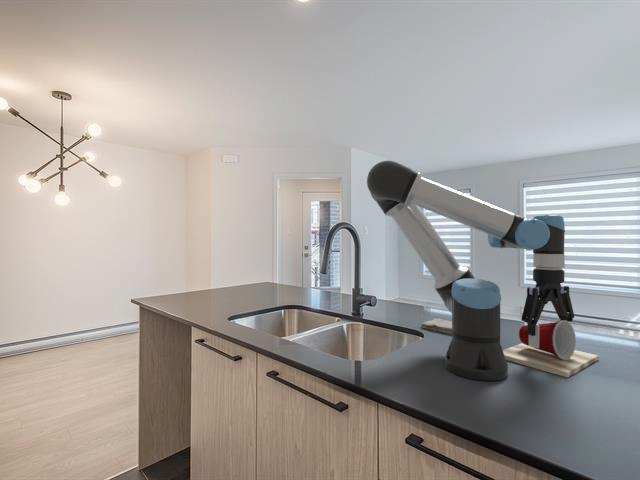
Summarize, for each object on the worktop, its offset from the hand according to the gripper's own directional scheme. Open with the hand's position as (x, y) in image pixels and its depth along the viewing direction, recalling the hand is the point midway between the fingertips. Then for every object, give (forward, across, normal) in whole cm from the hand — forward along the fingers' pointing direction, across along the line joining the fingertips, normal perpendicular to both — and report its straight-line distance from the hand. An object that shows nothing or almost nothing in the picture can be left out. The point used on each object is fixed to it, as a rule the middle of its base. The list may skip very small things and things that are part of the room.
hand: (548, 344), depth 97 cm
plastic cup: (-1, 0, -7) cm, 7 cm away
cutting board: (+4, 0, 0) cm, 4 cm away
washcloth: (+5, +6, -35) cm, 36 cm away
